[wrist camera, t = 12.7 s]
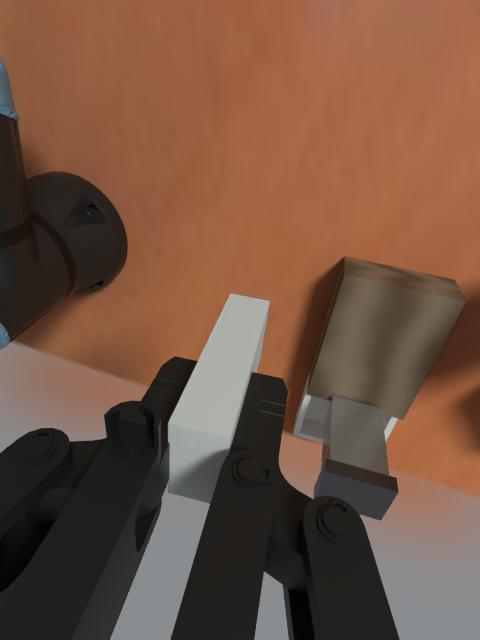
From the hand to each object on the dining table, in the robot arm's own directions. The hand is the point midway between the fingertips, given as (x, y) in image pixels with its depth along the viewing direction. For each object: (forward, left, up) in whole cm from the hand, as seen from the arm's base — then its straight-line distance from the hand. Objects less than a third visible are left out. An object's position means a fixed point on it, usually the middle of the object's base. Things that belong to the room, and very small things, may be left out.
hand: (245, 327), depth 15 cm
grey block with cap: (+12, -26, -25) cm, 37 cm away
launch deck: (+12, -16, -30) cm, 36 cm away
